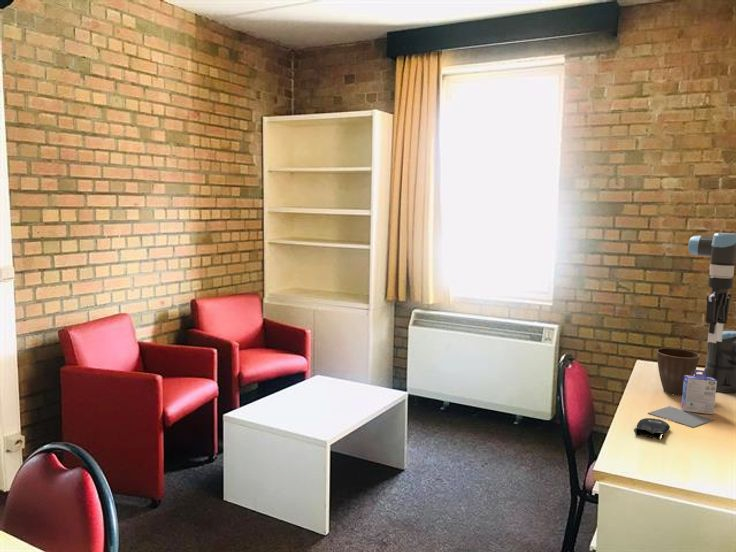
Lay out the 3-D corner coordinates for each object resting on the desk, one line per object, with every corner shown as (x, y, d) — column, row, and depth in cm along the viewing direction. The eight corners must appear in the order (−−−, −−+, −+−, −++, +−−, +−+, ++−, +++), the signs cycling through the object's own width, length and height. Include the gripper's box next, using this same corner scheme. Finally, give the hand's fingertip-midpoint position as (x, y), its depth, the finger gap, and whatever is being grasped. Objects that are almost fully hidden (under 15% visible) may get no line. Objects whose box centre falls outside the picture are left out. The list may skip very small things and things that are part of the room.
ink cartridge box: (709, 410, 229) (714, 370, 227) (714, 415, 224) (719, 374, 222) (679, 407, 231) (684, 367, 229) (684, 411, 226) (688, 371, 224)
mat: (669, 407, 231) (669, 406, 231) (714, 420, 219) (714, 419, 218) (647, 413, 223) (647, 412, 223) (693, 427, 210) (693, 426, 210)
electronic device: (666, 447, 198) (671, 426, 210) (664, 430, 197) (670, 410, 209) (634, 444, 203) (641, 424, 215) (632, 427, 202) (639, 408, 214)
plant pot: (702, 399, 242) (706, 358, 240) (663, 397, 242) (666, 356, 240) (684, 387, 256) (688, 348, 254) (647, 386, 257) (650, 347, 255)
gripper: (721, 274, 234) (715, 337, 237) (698, 276, 224) (692, 341, 227) (743, 276, 228) (736, 341, 231) (720, 279, 218) (713, 346, 221)
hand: (714, 341), depth 229 cm, fingers open, 3 cm apart
